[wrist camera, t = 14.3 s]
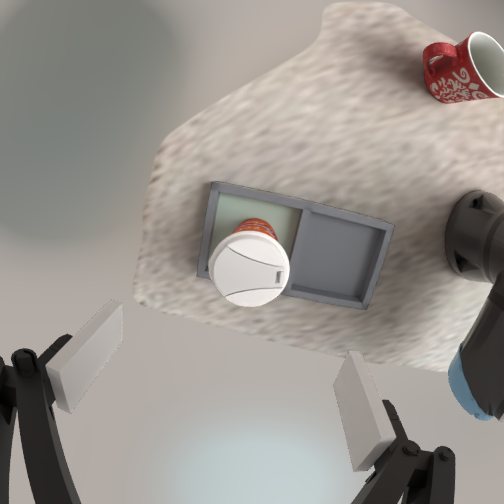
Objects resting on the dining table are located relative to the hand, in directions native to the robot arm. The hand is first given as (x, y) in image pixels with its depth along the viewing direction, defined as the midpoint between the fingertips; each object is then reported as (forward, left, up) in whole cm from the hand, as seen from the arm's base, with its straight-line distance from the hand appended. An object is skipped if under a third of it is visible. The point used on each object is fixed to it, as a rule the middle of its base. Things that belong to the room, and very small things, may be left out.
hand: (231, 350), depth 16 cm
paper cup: (0, 0, -26) cm, 26 cm away
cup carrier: (-6, 0, -27) cm, 27 cm away
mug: (-22, -31, -27) cm, 47 cm away
